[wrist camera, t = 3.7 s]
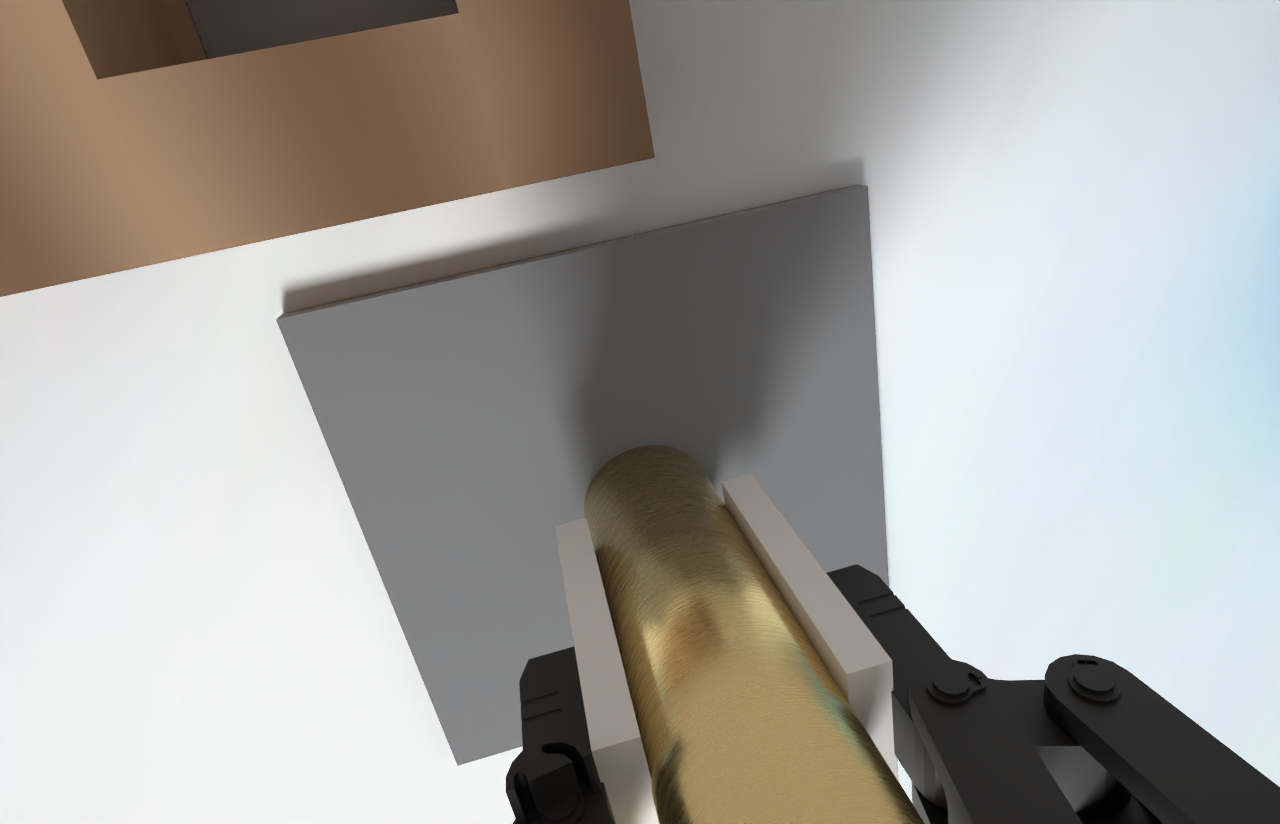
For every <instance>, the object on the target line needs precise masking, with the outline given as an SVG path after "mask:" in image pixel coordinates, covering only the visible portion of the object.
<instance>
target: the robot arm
mask: <svg viewBox="0 0 1280 824" xmlns="http://www.w3.org/2000/svg"><path fill="white" fill-rule="evenodd" d="M721 483H722V489H723V495H724V502H725V506H726V507H727V509H728V511H729V512H730V514H731V515H732V517H733V519H734V520H735V522H736V523H737V525H738V527H739V528H740V530H741V531H742V533H743V535H744V536H745V538H746V539H747V541H748V543H749V544H750V546H751V547H752V549H753V551H754V552H755V554H756V555H757V557H758V559H759V560H760V562H761V563H762V565H763V567H764V568H765V570H766V571H767V573H768V575H769V576H770V578H771V579H772V581H773V583H774V584H775V586H776V587H777V589H778V591H779V592H780V594H781V595H782V597H783V599H784V600H785V602H786V603H787V605H788V607H789V608H790V610H791V611H792V613H793V615H794V616H795V618H796V619H797V621H798V623H799V624H800V626H801V627H802V629H803V631H804V632H805V634H806V635H807V637H808V639H809V640H810V642H811V643H812V645H813V647H814V648H815V650H816V651H817V653H818V655H819V656H820V658H821V659H822V661H823V663H824V664H825V666H826V667H827V669H828V671H829V672H830V674H831V675H832V677H833V679H834V680H835V682H836V683H837V685H838V687H839V688H840V690H841V691H842V693H843V695H844V696H845V698H846V699H847V701H848V703H849V704H850V705H851V707H852V708H853V710H854V711H855V713H856V715H857V716H858V718H859V719H860V721H861V723H862V724H863V726H864V727H865V729H866V731H867V732H868V734H869V735H870V737H871V739H872V740H873V742H874V743H875V745H876V747H877V748H878V750H879V751H880V753H881V755H882V756H883V758H884V759H885V761H886V763H887V764H888V766H889V767H890V769H891V771H892V772H893V774H894V775H895V777H896V779H897V780H898V764H897V758H898V760H899V761H900V763H901V765H902V766H903V768H904V769H905V771H906V772H907V774H908V775H909V777H910V778H911V780H912V800H913V806H914V807H915V809H916V811H917V812H918V814H919V815H920V817H921V819H922V820H923V822H924V823H925V824H1280V787H1279V786H1277V785H1276V784H1275V783H1273V782H1272V781H1271V780H1270V779H1268V778H1267V777H1266V776H1264V775H1263V774H1262V773H1260V772H1259V771H1258V770H1257V769H1255V768H1254V767H1253V766H1251V765H1250V764H1249V763H1247V762H1246V761H1245V760H1243V759H1242V758H1241V757H1240V756H1238V755H1237V754H1236V753H1234V752H1233V751H1232V750H1230V749H1229V748H1228V747H1227V746H1225V745H1224V744H1223V743H1221V742H1220V741H1219V740H1217V739H1216V738H1215V737H1214V736H1212V735H1211V734H1210V733H1208V732H1207V731H1206V730H1204V729H1203V728H1202V727H1200V726H1199V725H1198V724H1197V723H1195V722H1194V721H1193V720H1191V719H1190V718H1189V717H1187V716H1186V715H1185V714H1184V713H1182V712H1181V711H1180V710H1178V709H1177V708H1176V707H1174V706H1173V705H1172V704H1171V703H1169V702H1168V701H1167V700H1165V699H1164V698H1163V697H1161V696H1160V695H1159V694H1158V693H1156V692H1155V691H1154V690H1152V689H1151V688H1150V687H1148V686H1147V685H1146V684H1144V683H1143V682H1142V681H1141V680H1139V679H1138V678H1137V677H1135V676H1134V675H1133V674H1131V673H1130V672H1129V671H1127V670H1126V669H1124V668H1122V667H1120V666H1119V665H1117V664H1115V663H1114V662H1112V661H1108V660H1105V659H1102V658H1099V657H1096V656H1089V655H1077V654H1075V655H1070V656H1064V657H1060V658H1058V659H1057V660H1055V661H1054V662H1052V663H1051V664H1049V666H1048V669H1047V671H1046V674H1045V680H1016V681H1007V680H994V679H989V678H987V677H986V676H985V675H984V674H983V672H982V671H980V670H978V669H976V668H975V667H973V666H971V665H969V664H967V663H964V662H960V661H956V660H952V659H951V658H950V657H949V656H948V655H947V654H946V653H945V652H944V651H943V649H942V648H941V647H940V646H939V645H938V644H937V642H936V641H935V640H934V639H933V638H932V637H931V636H930V634H929V633H928V632H927V631H926V630H925V629H924V628H923V626H922V625H921V624H920V623H919V622H918V621H917V619H916V618H915V617H914V616H913V615H912V614H911V613H910V611H909V610H908V609H905V606H904V604H903V603H902V602H901V601H900V600H899V599H898V598H897V596H896V595H895V596H894V594H893V592H892V591H891V589H890V588H889V587H888V586H887V585H886V584H885V583H884V581H883V580H882V579H881V578H880V577H879V576H878V575H876V574H874V573H873V572H871V571H869V570H867V569H865V568H863V567H861V566H860V565H858V564H855V565H852V566H848V567H845V568H841V569H838V570H834V571H831V572H827V573H826V572H825V571H824V570H823V568H822V567H821V566H820V564H819V563H818V562H817V560H816V559H815V558H814V556H813V555H812V554H811V552H810V551H809V550H808V548H807V547H806V546H805V544H804V543H803V542H802V540H801V539H800V538H799V536H798V535H797V534H796V533H795V531H794V530H793V529H792V527H791V526H790V525H789V523H788V522H787V521H786V519H785V518H784V517H783V515H782V514H781V513H780V511H779V510H778V509H777V507H776V506H775V505H774V503H773V502H772V501H771V499H770V498H769V497H768V495H767V494H766V493H765V491H764V490H763V489H762V487H761V486H760V485H759V484H758V482H757V481H756V480H755V478H754V477H753V476H752V474H749V475H745V476H742V477H738V478H734V479H730V480H727V481H723V482H721ZM555 530H556V536H557V543H558V549H559V555H560V561H561V567H562V573H563V579H564V586H565V592H566V598H567V604H568V610H569V616H570V622H571V629H572V635H573V641H574V647H570V648H567V649H563V650H560V651H556V652H553V653H549V654H546V655H542V656H539V657H535V658H532V659H529V660H528V662H527V664H526V666H525V669H524V671H523V673H522V676H521V678H520V680H519V686H520V703H521V721H522V742H523V751H522V752H521V753H520V754H519V755H518V757H517V758H516V759H515V760H514V761H513V762H512V764H511V767H510V769H509V771H508V774H507V776H506V793H507V796H508V799H509V801H510V804H511V807H512V809H513V812H514V815H515V817H516V819H515V821H514V822H513V824H659V821H658V817H657V813H656V809H655V805H654V801H653V795H652V789H651V788H652V780H651V776H650V772H649V768H648V764H647V760H646V756H645V752H644V748H643V744H642V740H641V736H640V732H639V728H638V724H637V720H636V716H635V712H634V708H633V703H632V699H631V695H630V691H629V687H628V683H627V679H626V675H625V671H624V667H623V663H622V659H621V655H620V651H619V647H618V643H617V639H616V635H615V631H614V627H613V623H612V619H611V615H610V611H609V607H608V603H607V599H606V594H605V590H604V586H603V582H602V578H601V574H600V570H599V566H598V562H597V558H596V554H595V550H594V546H593V542H592V538H591V534H590V530H589V526H588V522H587V518H584V519H580V520H576V521H572V522H568V523H565V524H561V525H557V526H555Z"/></svg>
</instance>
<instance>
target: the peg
mask: <svg viewBox="0 0 1280 824" xmlns="http://www.w3.org/2000/svg"><path fill="white" fill-rule="evenodd" d="M584 516H585V518H587V522H588V526H589V530H590V534H591V538H592V542H593V546H594V550H595V554H596V558H597V562H598V566H599V570H600V574H601V578H602V582H603V586H604V590H605V594H606V599H607V603H608V607H609V611H610V615H611V619H612V623H613V627H614V631H615V635H616V639H617V643H618V647H619V651H620V655H621V659H622V663H623V667H624V671H625V675H626V679H627V683H628V687H629V691H630V695H631V699H632V703H633V708H634V712H635V716H636V720H637V724H638V728H639V732H640V736H641V740H642V744H643V748H644V752H645V756H646V760H647V764H648V768H649V772H650V776H651V780H652V788H651V789H652V795H653V801H654V805H655V809H656V813H657V817H658V821H659V824H925V823H924V822H923V820H922V819H921V817H920V815H919V814H918V812H917V811H916V809H915V807H914V806H913V804H912V803H911V801H910V799H909V798H908V796H907V795H906V793H905V791H904V790H903V788H902V787H901V785H900V783H899V782H898V780H897V779H896V777H895V775H894V774H893V772H892V771H891V769H890V767H889V766H888V764H887V763H886V761H885V759H884V758H883V756H882V755H881V753H880V751H879V750H878V748H877V747H876V745H875V743H874V742H873V740H872V739H871V737H870V735H869V734H868V732H867V731H866V729H865V727H864V726H863V724H862V723H861V721H860V719H859V718H858V716H857V715H856V713H855V711H854V710H853V708H852V707H851V705H850V704H849V703H848V701H847V699H846V698H845V696H844V695H843V693H842V691H841V690H840V688H839V687H838V685H837V683H836V682H835V680H834V679H833V677H832V675H831V674H830V672H829V671H828V669H827V667H826V666H825V664H824V663H823V661H822V659H821V658H820V656H819V655H818V653H817V651H816V650H815V648H814V647H813V645H812V643H811V642H810V640H809V639H808V637H807V635H806V634H805V632H804V631H803V629H802V627H801V626H800V624H799V623H798V621H797V619H796V618H795V616H794V615H793V613H792V611H791V610H790V608H789V607H788V605H787V603H786V602H785V600H784V599H783V597H782V595H781V594H780V592H779V591H778V589H777V587H776V586H775V584H774V583H773V581H772V579H771V578H770V576H769V575H768V573H767V571H766V570H765V568H764V567H763V565H762V563H761V562H760V560H759V559H758V557H757V555H756V554H755V552H754V551H753V549H752V547H751V546H750V544H749V543H748V541H747V539H746V538H745V536H744V535H743V533H742V531H741V530H740V528H739V527H738V525H737V523H736V522H735V520H734V519H733V517H732V515H731V514H730V512H729V511H728V509H727V507H726V506H725V504H724V502H723V501H722V499H721V497H720V496H719V494H718V493H717V491H716V489H715V488H714V486H713V485H712V483H711V481H710V480H709V478H708V477H707V475H706V473H705V472H704V470H703V469H702V467H701V466H700V465H699V464H698V462H697V461H695V460H694V459H693V458H692V457H691V456H689V455H688V454H686V453H685V452H682V451H680V450H678V449H675V448H672V447H668V446H662V445H647V446H641V447H636V448H633V449H630V450H627V451H625V452H623V453H621V454H619V455H617V456H615V457H614V458H612V459H611V460H610V461H608V462H607V463H606V464H605V465H604V466H603V467H602V468H601V469H600V470H599V471H598V472H597V474H596V475H595V476H594V478H593V480H592V481H591V483H590V485H589V487H588V490H587V493H586V497H585V502H584Z"/></svg>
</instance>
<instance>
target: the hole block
mask: <svg viewBox="0 0 1280 824" xmlns="http://www.w3.org/2000/svg"><path fill="white" fill-rule="evenodd" d="M455 1H456V5H457V9H458V13H457V14H451V15H446V16H440V17H435V18H430V19H424V20H419V21H413V22H408V23H402V24H397V25H391V26H386V27H380V28H375V29H370V30H364V31H359V32H353V33H348V34H342V35H337V36H331V37H326V38H320V39H315V40H310V41H304V42H299V43H293V44H288V45H282V46H277V47H271V48H266V49H261V50H255V51H250V52H244V53H239V54H233V55H228V56H222V57H217V58H211V59H208V58H207V56H206V53H205V51H204V48H203V45H202V43H201V40H200V38H199V35H198V33H197V30H196V27H195V25H194V22H193V20H192V17H191V15H190V12H189V9H188V7H187V4H186V2H185V0H0V297H2V296H6V295H11V294H16V293H21V292H25V291H30V290H35V289H39V288H44V287H49V286H54V285H58V284H63V283H68V282H72V281H77V280H82V279H86V278H91V277H96V276H101V275H105V274H110V273H115V272H119V271H124V270H129V269H133V268H138V267H143V266H148V265H152V264H157V263H162V262H166V261H171V260H176V259H180V258H185V257H190V256H195V255H199V254H204V253H209V252H213V251H218V250H223V249H227V248H232V247H237V246H242V245H246V244H251V243H256V242H260V241H265V240H270V239H274V238H279V237H284V236H289V235H293V234H298V233H303V232H307V231H312V230H317V229H321V228H326V227H331V226H336V225H340V224H345V223H350V222H354V221H359V220H364V219H369V218H373V217H378V216H383V215H387V214H392V213H397V212H401V211H406V210H411V209H416V208H420V207H425V206H430V205H434V204H439V203H444V202H448V201H453V200H458V199H463V198H467V197H472V196H477V195H481V194H486V193H491V192H495V191H500V190H505V189H510V188H514V187H519V186H524V185H528V184H533V183H538V182H542V181H547V180H552V179H557V178H561V177H566V176H571V175H575V174H580V173H585V172H589V171H594V170H599V169H604V168H608V167H613V166H618V165H622V164H627V163H632V162H636V161H641V160H646V159H651V158H655V157H654V151H653V145H652V139H651V133H650V127H649V121H648V115H647V109H646V103H645V97H644V91H643V85H642V79H641V73H640V67H639V61H638V55H637V49H636V43H635V37H634V31H633V25H632V19H631V13H630V7H629V1H628V0H455Z"/></svg>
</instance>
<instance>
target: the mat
mask: <svg viewBox="0 0 1280 824" xmlns="http://www.w3.org/2000/svg"><path fill="white" fill-rule="evenodd" d="M276 320H277V323H278V325H279V328H280V330H281V332H282V335H283V337H284V340H285V342H286V345H287V347H288V350H289V352H290V355H291V357H292V360H293V362H294V364H295V367H296V369H297V372H298V374H299V377H300V379H301V382H302V384H303V387H304V389H305V391H306V394H307V396H308V399H309V401H310V404H311V406H312V409H313V411H314V414H315V416H316V418H317V421H318V423H319V426H320V428H321V431H322V433H323V436H324V438H325V441H326V443H327V446H328V448H329V450H330V453H331V455H332V458H333V460H334V463H335V465H336V468H337V470H338V473H339V475H340V477H341V480H342V482H343V485H344V487H345V490H346V492H347V495H348V497H349V500H350V502H351V504H352V507H353V509H354V512H355V514H356V517H357V519H358V522H359V524H360V527H361V529H362V531H363V534H364V536H365V539H366V541H367V544H368V546H369V549H370V551H371V554H372V556H373V559H374V561H375V563H376V566H377V568H378V571H379V573H380V576H381V578H382V581H383V583H384V586H385V588H386V590H387V593H388V595H389V598H390V600H391V603H392V605H393V608H394V610H395V613H396V615H397V617H398V620H399V622H400V625H401V627H402V630H403V632H404V635H405V637H406V640H407V642H408V645H409V647H410V649H411V652H412V654H413V657H414V659H415V662H416V664H417V667H418V669H419V672H420V674H421V676H422V679H423V681H424V684H425V686H426V689H427V691H428V694H429V696H430V699H431V701H432V703H433V706H434V708H435V711H436V713H437V716H438V718H439V721H440V723H441V726H442V728H443V731H444V733H445V735H446V738H447V740H448V743H449V745H450V748H451V750H452V753H453V755H454V758H455V760H456V762H457V765H461V764H465V763H468V762H471V761H475V760H478V759H481V758H485V757H488V756H491V755H495V754H498V753H501V752H505V751H508V750H511V749H515V748H518V747H521V746H523V742H522V721H521V703H520V686H519V680H520V678H521V676H522V673H523V671H524V669H525V666H526V664H527V662H528V660H529V659H532V658H535V657H539V656H542V655H546V654H549V653H553V652H556V651H560V650H563V649H567V648H570V647H574V641H573V635H572V629H571V622H570V616H569V610H568V604H567V598H566V592H565V586H564V579H563V573H562V567H561V561H560V555H559V549H558V543H557V536H556V530H555V526H557V525H561V524H565V523H568V522H572V521H576V520H580V519H584V518H585V516H584V502H585V497H586V493H587V490H588V487H589V485H590V483H591V481H592V480H593V478H594V476H595V475H596V474H597V472H598V471H599V470H600V469H601V468H602V467H603V466H604V465H605V464H606V463H607V462H608V461H610V460H611V459H612V458H614V457H615V456H617V455H619V454H621V453H623V452H625V451H627V450H630V449H633V448H636V447H641V446H647V445H662V446H668V447H672V448H675V449H678V450H680V451H682V452H685V453H686V454H688V455H689V456H691V457H692V458H693V459H694V460H695V461H697V462H698V464H699V465H700V466H701V467H702V469H703V470H704V472H705V473H706V475H707V477H708V478H709V480H710V481H711V483H712V485H713V486H714V488H715V489H716V491H717V493H718V494H719V496H720V497H721V499H722V501H723V502H724V495H723V489H722V483H721V482H723V481H727V480H730V479H734V478H738V477H742V476H745V475H749V474H752V476H753V477H754V478H755V480H756V481H757V482H758V484H759V485H760V486H761V487H762V489H763V490H764V491H765V493H766V494H767V495H768V497H769V498H770V499H771V501H772V502H773V503H774V505H775V506H776V507H777V509H778V510H779V511H780V513H781V514H782V515H783V517H784V518H785V519H786V521H787V522H788V523H789V525H790V526H791V527H792V529H793V530H794V531H795V533H796V534H797V535H798V536H799V538H800V539H801V540H802V542H803V543H804V544H805V546H806V547H807V548H808V550H809V551H810V552H811V554H812V555H813V556H814V558H815V559H816V560H817V562H818V563H819V564H820V566H821V567H822V568H823V570H824V571H825V572H826V573H827V572H831V571H834V570H838V569H841V568H845V567H848V566H852V565H855V564H858V565H860V566H861V567H863V568H865V569H867V570H869V571H871V572H873V573H874V574H876V575H878V576H879V577H880V578H881V579H882V580H883V581H884V583H885V584H886V585H887V586H888V587H889V582H888V563H887V544H886V525H885V506H884V487H883V468H882V449H881V430H880V411H879V392H878V373H877V354H876V335H875V316H874V297H873V278H872V259H871V240H870V221H869V202H868V186H862V185H855V186H851V187H846V188H842V189H838V190H833V191H829V192H824V193H820V194H815V195H811V196H806V197H802V198H797V199H793V200H789V201H784V202H780V203H775V204H771V205H766V206H762V207H757V208H753V209H748V210H744V211H740V212H735V213H731V214H726V215H722V216H717V217H713V218H708V219H704V220H699V221H695V222H691V223H686V224H682V225H677V226H673V227H668V228H664V229H659V230H655V231H650V232H646V233H642V234H637V235H633V236H628V237H624V238H619V239H615V240H610V241H606V242H601V243H597V244H593V245H588V246H584V247H579V248H575V249H570V250H566V251H561V252H557V253H553V254H548V255H544V256H539V257H535V258H530V259H526V260H521V261H517V262H512V263H508V264H504V265H499V266H495V267H490V268H486V269H481V270H477V271H472V272H468V273H463V274H459V275H455V276H450V277H446V278H441V279H437V280H432V281H428V282H423V283H419V284H414V285H410V286H406V287H401V288H397V289H392V290H388V291H383V292H379V293H374V294H370V295H365V296H361V297H357V298H352V299H348V300H343V301H339V302H334V303H330V304H325V305H321V306H316V307H312V308H308V309H303V310H299V311H294V312H290V313H285V314H282V315H281V316H280V317H279V318H277V319H276ZM724 504H725V502H724Z"/></svg>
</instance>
